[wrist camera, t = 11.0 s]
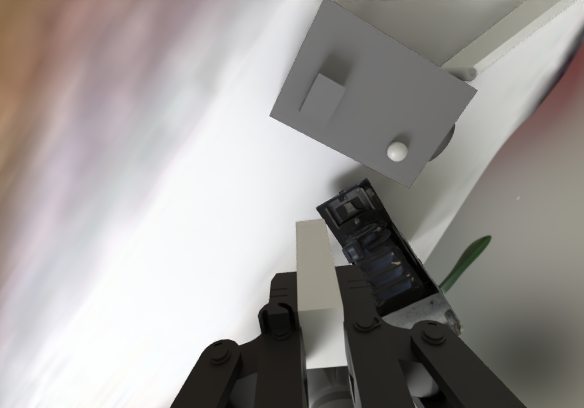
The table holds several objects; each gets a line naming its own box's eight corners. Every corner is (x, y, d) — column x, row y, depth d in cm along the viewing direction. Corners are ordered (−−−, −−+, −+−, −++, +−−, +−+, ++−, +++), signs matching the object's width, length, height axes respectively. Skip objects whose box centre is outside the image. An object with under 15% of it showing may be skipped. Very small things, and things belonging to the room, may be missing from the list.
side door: (429, 72, 40) (460, 73, 32) (524, -2, 37) (583, -19, 29) (437, 85, 40) (469, 88, 33) (531, 14, 37) (590, 0, 30)
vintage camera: (366, 167, 46) (408, 227, 27) (411, 245, 50) (472, 341, 32) (310, 199, 48) (315, 275, 30) (358, 271, 53) (387, 374, 34)
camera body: (394, 169, 45) (428, 202, 34) (274, 105, 42) (267, 119, 31) (446, 90, 41) (505, 98, 30) (317, 13, 38) (328, -12, 26)
